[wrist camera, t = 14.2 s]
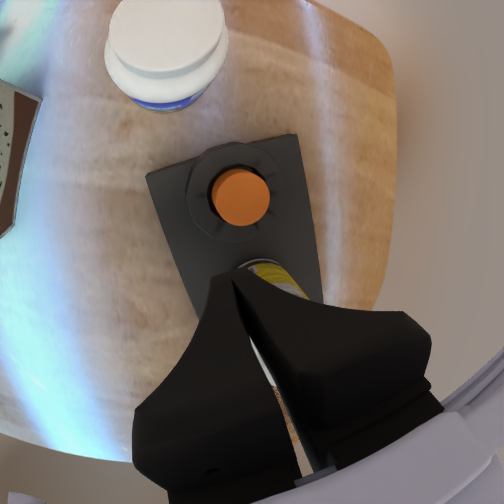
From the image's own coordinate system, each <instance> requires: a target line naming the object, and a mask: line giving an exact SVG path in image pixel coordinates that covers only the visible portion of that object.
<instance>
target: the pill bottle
mask: <svg viewBox="0 0 504 504" xmlns="http://www.w3.org/2000/svg"><path fill="white" fill-rule="evenodd" d="M224 22H225V20H224V11H223V8H222V5H221V3H220V2H219V0H122V1H121V3H120V4H119V5H118V7H117V8H116V10H115V12H114V14H113V16H112V18H111V21H110V26H109V35H108V37H107V41H106V44H105V53H104V56H105V64H106V68H107V71H108V73H109V75H110V77H111V78H112V80H113V81H114V83H115V84H116V85H117V86H118V87H119V88H120V89H121V90H122V91H123V92H124V93H125V94H126V95H127V96H128V97H130V98H131V99H132V100H133V101H134V102H135V103H136V104H138V105H139V106H140V107H142V108H144V109H146V110H149V111H152V112H156V113H170V112H175V111H178V110H181V109H183V108H186V107H187V106H189V105H191V104H192V103H193V102H195V101H196V100H197V99H198V98H199V97H200V96H201V95H202V94H203V92H204V91H205V90H206V88H207V87H208V86H209V85H210V83H211V82H212V81H213V80H214V78H215V77H216V76H217V74H218V73H219V71H220V70H221V68H222V66H223V64H224V62H225V60H226V57H227V53H228V47H229V38H228V32H227V28H226V25H225V23H224Z"/></svg>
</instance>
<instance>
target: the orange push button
mask: <svg viewBox="0 0 504 504" xmlns="http://www.w3.org/2000/svg"><path fill="white" fill-rule="evenodd" d="M212 200H213V203H214V205H215V207H216V209H217V211H218V212H219V214H220V216H221V217H222V218H223V219H224V220H225V221H227V222H228V223H230V224H233V225H237V226H246V225H250V224H253V223H254V222H256V221H258V220H259V219H260V218H261V217H262V216H263V215H264V214H265V212H266V210H267V208H268V206H269V201H270V194H269V190H268V187H267V185H266V183H265V182H264V181H263V180H262V179H261V178H260V177H259V176H257V175H255V174H253V173H251V172H249V171H247V170H245V169H231V170H228V171H226V172H224V173H223V174H221V175H220V176H219V177H218V179H217V180H216V181H215V183H214V186H213V189H212Z"/></svg>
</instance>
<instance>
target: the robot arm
mask: <svg viewBox="0 0 504 504" xmlns="http://www.w3.org/2000/svg"><path fill="white" fill-rule="evenodd" d="M250 338H251V340H252V342H253V344H254V345H255V347H256V349H257V351H258V353H259V355H260V357H261V358H262V360H263V362H264V364H265V366H266V368H267V369H268V371H269V373H270V375H271V377H272V378H273V380H274V382H275V384H276V386H277V389H278V391H279V393H280V396H281V398H282V400H283V403H284V405H285V407H286V409H287V412H288V414H289V416H290V419H291V421H292V423H293V426H294V428H295V430H296V433H297V435H298V437H299V440H300V442H301V444H302V447H303V449H304V451H305V453H306V456H307V458H308V460H309V463H310V465H311V467H312V470H313V472H314V473H313V474H310V475H308V476H305V477H302V474H301V471H300V468H299V465H298V462H297V457H296V454H295V452H294V448H293V445H292V442H291V438H290V435H289V432H288V429H287V426H286V422H285V419H284V416H283V413H282V410H281V407H280V405H279V402H278V400H277V398H276V395H275V393H274V391H273V388H272V386H271V384H270V382H269V380H268V378H267V376H266V374H265V372H264V370H263V368H262V366H261V364H260V362H259V360H258V358H257V356H256V353H255V351H254V349H253V347H252V344H251V340H250ZM431 345H432V343H431V338H430V335H429V334H428V333H427V332H426V331H425V330H424V329H423V328H422V327H421V326H420V325H419V324H418V323H417V322H416V321H414V320H413V319H412V318H411V317H410V316H408V315H407V314H406V313H404V312H403V311H364V310H354V309H347V308H340V307H335V306H330V305H326V304H321V303H318V302H314V301H311V300H308V299H305V298H302V297H299V296H296V295H294V294H291V293H289V292H287V291H284V290H282V289H280V288H278V287H277V286H275V285H273V284H271V283H269V282H268V281H266V280H264V279H263V278H261V277H259V276H258V275H256V274H255V273H253V272H252V271H250V270H249V269H248V268H246V267H244V266H243V267H240V268H237V269H234V270H231V271H228V272H225V273H222V274H219V275H216V276H213V277H211V279H210V285H209V291H208V296H207V300H206V303H205V307H204V310H203V313H202V316H201V319H200V321H199V324H198V327H197V329H196V331H195V333H194V335H193V337H192V339H191V341H190V343H189V345H188V347H187V349H186V350H185V352H184V354H183V355H182V357H181V358H180V360H179V361H178V363H177V364H176V366H175V367H174V368H173V370H172V371H171V372H170V373H169V375H168V376H167V377H166V378H165V379H164V381H163V382H162V383H161V384H160V385H159V386H158V387H157V388H156V389H155V390H154V391H153V392H152V393H151V394H150V395H149V396H148V397H147V398H146V399H145V400H144V401H143V402H142V403H141V404H140V405H139V406H138V407H137V408H136V409H135V414H134V420H133V428H132V461H133V463H134V466H135V468H136V469H137V470H138V471H139V472H140V473H141V474H143V475H144V476H145V477H147V478H148V479H150V480H151V481H153V482H154V483H156V484H157V485H159V486H161V487H162V488H164V489H165V490H167V492H168V499H169V504H504V464H503V463H502V462H501V461H500V459H499V458H498V457H497V456H496V452H498V451H499V449H500V448H501V447H502V446H503V445H504V347H503V348H502V349H501V350H500V351H499V352H498V353H497V354H496V355H495V356H494V357H493V358H492V359H491V360H490V361H489V362H488V363H487V364H486V365H485V366H484V367H482V368H481V369H480V370H479V371H478V372H477V373H476V374H475V375H474V376H472V377H471V378H470V379H469V380H468V381H467V382H466V383H464V384H463V385H462V386H461V387H459V388H458V389H457V390H456V391H454V392H453V393H452V394H451V395H449V396H448V397H447V398H445V399H444V400H443V401H441V402H438V400H437V399H436V398H435V397H434V396H433V395H432V393H431V392H430V391H429V390H430V389H431V384H430V382H429V381H428V380H427V379H426V378H425V377H424V373H425V370H426V367H427V364H428V360H429V357H430V352H431ZM7 504H46V503H45V502H43V501H41V500H39V499H37V498H35V497H32V496H29V495H25V494H20V493H15V492H9V494H8V503H7Z"/></svg>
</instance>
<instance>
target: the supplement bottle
mask: <svg viewBox="0 0 504 504" xmlns="http://www.w3.org/2000/svg"><path fill="white" fill-rule="evenodd" d="M243 266H244V267H246V268H248V269H249V270H250V271H252V272H253V273H255V274H256V275H258V276H259V277H261V278H263V279H264V280H266V281H268V282H269V283H271V284H273V285H275V286H277V287H278V288H280V289H282V290H284V291H287V292H289V293H291V294H294V295H296V296H299V297H302V298H305V299H308V300H309V298H308V297H307V296H306V295H305V294H304V292H303V291H302V290H301V289H300V287H299V286H298V285H297V284H296V282H295V281H294V280H293V279H292V277H291V276H290V275H289V274H288V273H287V271H286V270H285V269H284V268H283V267H282V266H281V265H280V264H279V263H277V262H275V261H273V260H270V259H255V260H251V261H248V262H246V263H244V264H242V265H241V266H239V267H238V268H240V267H243ZM250 340H251V338H250ZM251 344H252V347H253V349H254V351H255V353H256V356H257V358H258V360H259V362H260V364H261V366H262V368H263V370H264V372H265V374H266V376H267V378H268V380H269V382H270V384H271V385H273V386H275V387H277V386H276V384H275V382H274V380H273V378H272V377H271V375H270V373H269V371H268V369H267V368H266V366H265V364H264V362H263V360H262V358H261V357H260V355H259V353H258V351H257V349H256V347H255V345H254V344H253V342H252V340H251Z"/></svg>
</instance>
